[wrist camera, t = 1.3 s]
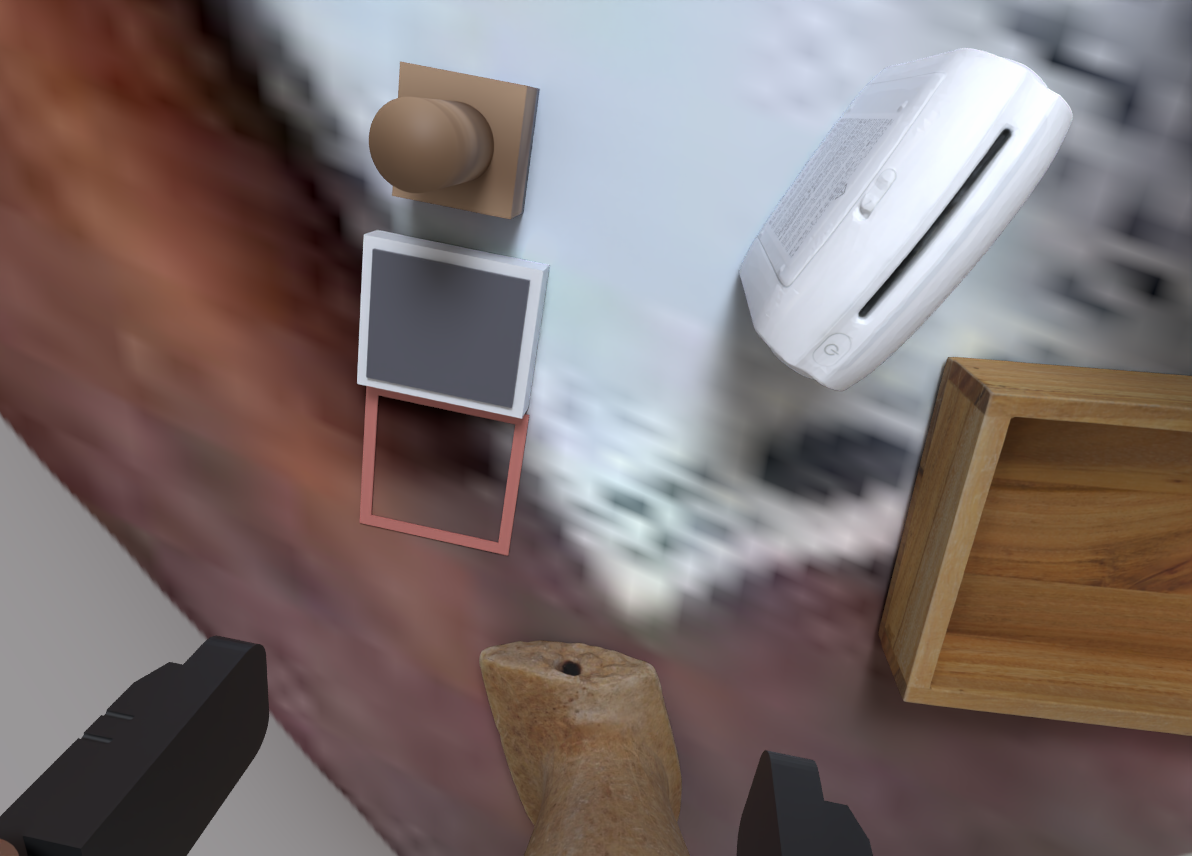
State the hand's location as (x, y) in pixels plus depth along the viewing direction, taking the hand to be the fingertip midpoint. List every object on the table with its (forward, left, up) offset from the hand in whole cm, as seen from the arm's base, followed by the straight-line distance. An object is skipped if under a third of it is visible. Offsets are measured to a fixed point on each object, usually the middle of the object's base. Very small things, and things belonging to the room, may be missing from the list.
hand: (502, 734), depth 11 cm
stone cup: (+24, +3, -24) cm, 34 cm away
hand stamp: (-7, -8, -24) cm, 26 cm away
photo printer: (-7, +7, -24) cm, 26 cm away
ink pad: (+1, -8, -24) cm, 25 cm away
